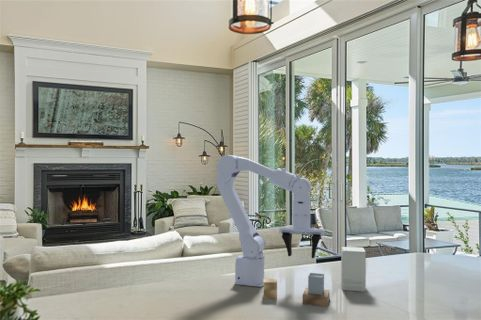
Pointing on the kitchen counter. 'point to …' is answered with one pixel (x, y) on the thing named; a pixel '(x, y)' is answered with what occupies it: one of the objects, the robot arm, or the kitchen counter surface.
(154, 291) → the kitchen counter surface
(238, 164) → the robot arm
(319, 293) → the slate block
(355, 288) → the supplement box
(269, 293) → the oak block
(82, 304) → the kitchen counter surface
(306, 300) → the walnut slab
